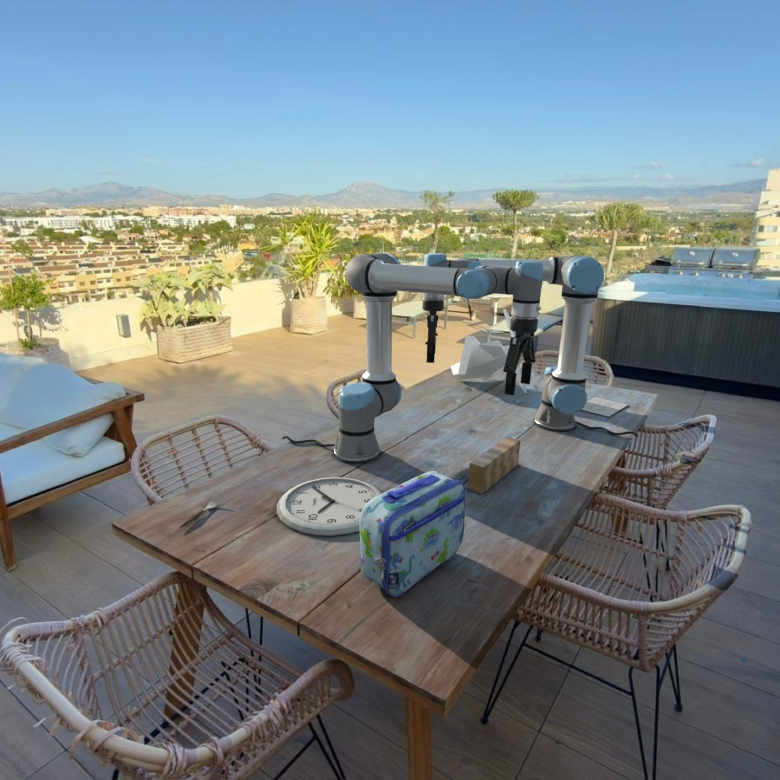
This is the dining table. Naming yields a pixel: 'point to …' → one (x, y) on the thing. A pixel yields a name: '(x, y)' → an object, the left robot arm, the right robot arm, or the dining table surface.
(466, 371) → the white plastic object
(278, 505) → the wall clock
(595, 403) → the invitation card
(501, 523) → the dining table surface
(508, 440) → the bar
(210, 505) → the fork
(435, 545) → the lunch box
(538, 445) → the dining table surface
